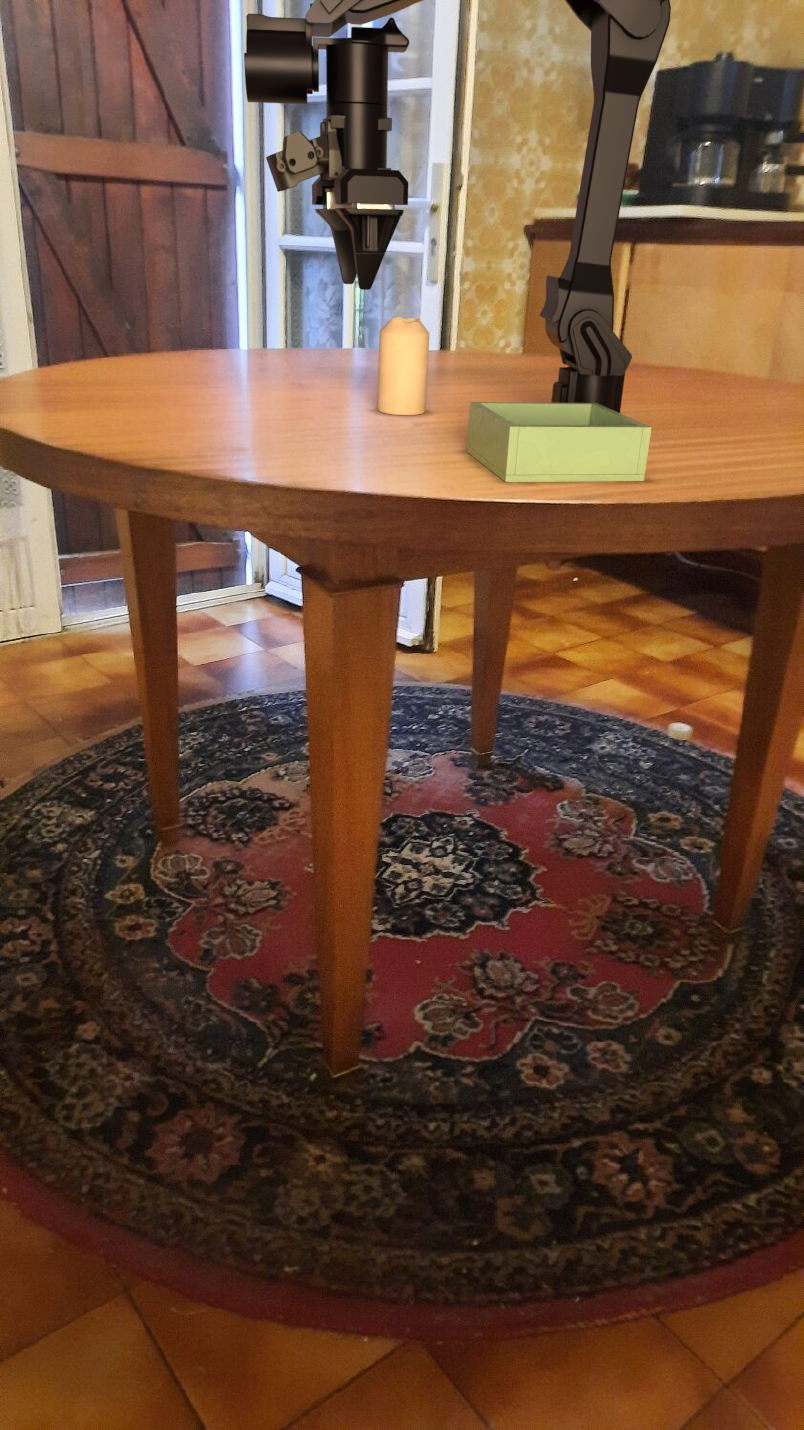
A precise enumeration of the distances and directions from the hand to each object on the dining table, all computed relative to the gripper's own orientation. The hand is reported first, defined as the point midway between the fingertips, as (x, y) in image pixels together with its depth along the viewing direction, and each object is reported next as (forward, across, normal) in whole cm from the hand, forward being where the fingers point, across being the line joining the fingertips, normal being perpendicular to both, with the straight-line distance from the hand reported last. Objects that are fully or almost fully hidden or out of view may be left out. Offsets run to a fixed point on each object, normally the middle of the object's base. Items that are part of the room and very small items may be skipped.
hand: (356, 286), depth 102 cm
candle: (+14, -8, +7) cm, 17 cm away
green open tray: (+14, +21, +14) cm, 29 cm away
